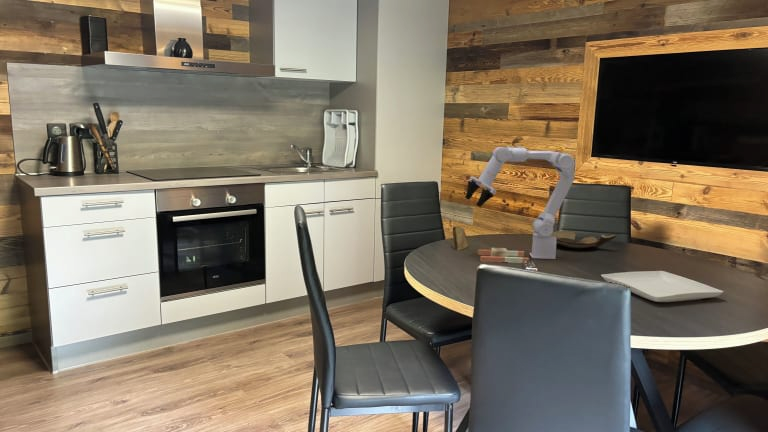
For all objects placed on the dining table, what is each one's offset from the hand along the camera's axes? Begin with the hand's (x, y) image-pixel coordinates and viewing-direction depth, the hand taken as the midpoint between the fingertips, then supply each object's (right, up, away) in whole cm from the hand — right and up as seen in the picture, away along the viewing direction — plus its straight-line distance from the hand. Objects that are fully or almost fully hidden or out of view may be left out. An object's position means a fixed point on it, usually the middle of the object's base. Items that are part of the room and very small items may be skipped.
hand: (472, 202), depth 231 cm
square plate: (+57, -32, -41) cm, 77 cm away
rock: (-2, -20, +18) cm, 27 cm away
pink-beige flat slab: (+12, -23, 0) cm, 26 cm away
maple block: (+11, -23, 0) cm, 26 cm away
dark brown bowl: (+51, -20, +23) cm, 60 cm away
